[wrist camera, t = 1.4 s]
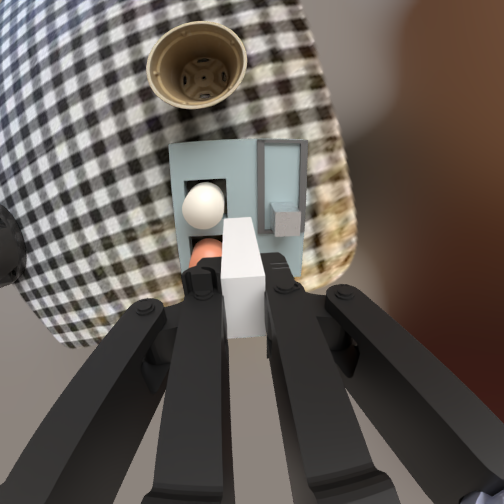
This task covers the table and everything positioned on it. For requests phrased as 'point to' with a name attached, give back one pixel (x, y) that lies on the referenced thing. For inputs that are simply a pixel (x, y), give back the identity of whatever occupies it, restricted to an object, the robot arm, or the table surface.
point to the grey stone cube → (285, 219)
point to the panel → (243, 188)
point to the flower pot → (196, 64)
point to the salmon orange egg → (205, 250)
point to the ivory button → (204, 206)
